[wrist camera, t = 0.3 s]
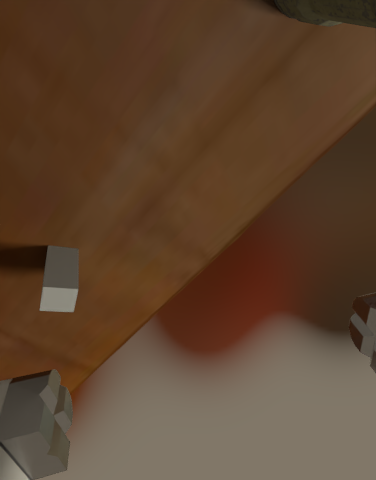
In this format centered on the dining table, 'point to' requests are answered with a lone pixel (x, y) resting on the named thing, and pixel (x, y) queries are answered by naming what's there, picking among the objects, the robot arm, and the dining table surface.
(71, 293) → the grey pillar
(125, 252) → the dining table surface
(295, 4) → the carved stone statue
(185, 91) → the dining table surface
